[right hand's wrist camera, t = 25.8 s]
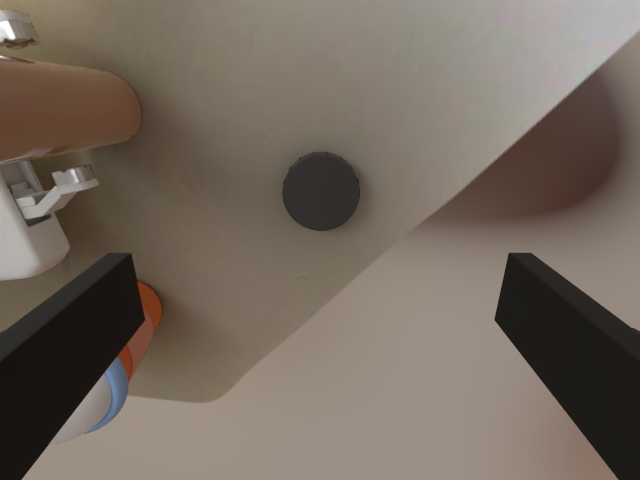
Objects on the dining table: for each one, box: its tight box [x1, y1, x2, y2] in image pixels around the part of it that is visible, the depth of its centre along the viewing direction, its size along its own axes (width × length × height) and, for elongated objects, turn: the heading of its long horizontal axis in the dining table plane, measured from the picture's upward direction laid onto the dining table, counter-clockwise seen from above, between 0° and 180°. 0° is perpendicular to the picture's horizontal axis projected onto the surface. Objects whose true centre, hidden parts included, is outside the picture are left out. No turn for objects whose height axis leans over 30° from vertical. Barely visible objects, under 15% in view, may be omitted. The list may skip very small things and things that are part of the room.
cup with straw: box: [49, 281, 162, 445], centre depth 26 cm, size 9×9×18 cm
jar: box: [0, 55, 142, 166], centre depth 21 cm, size 5×5×15 cm
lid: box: [283, 152, 360, 231], centre depth 30 cm, size 6×6×2 cm
